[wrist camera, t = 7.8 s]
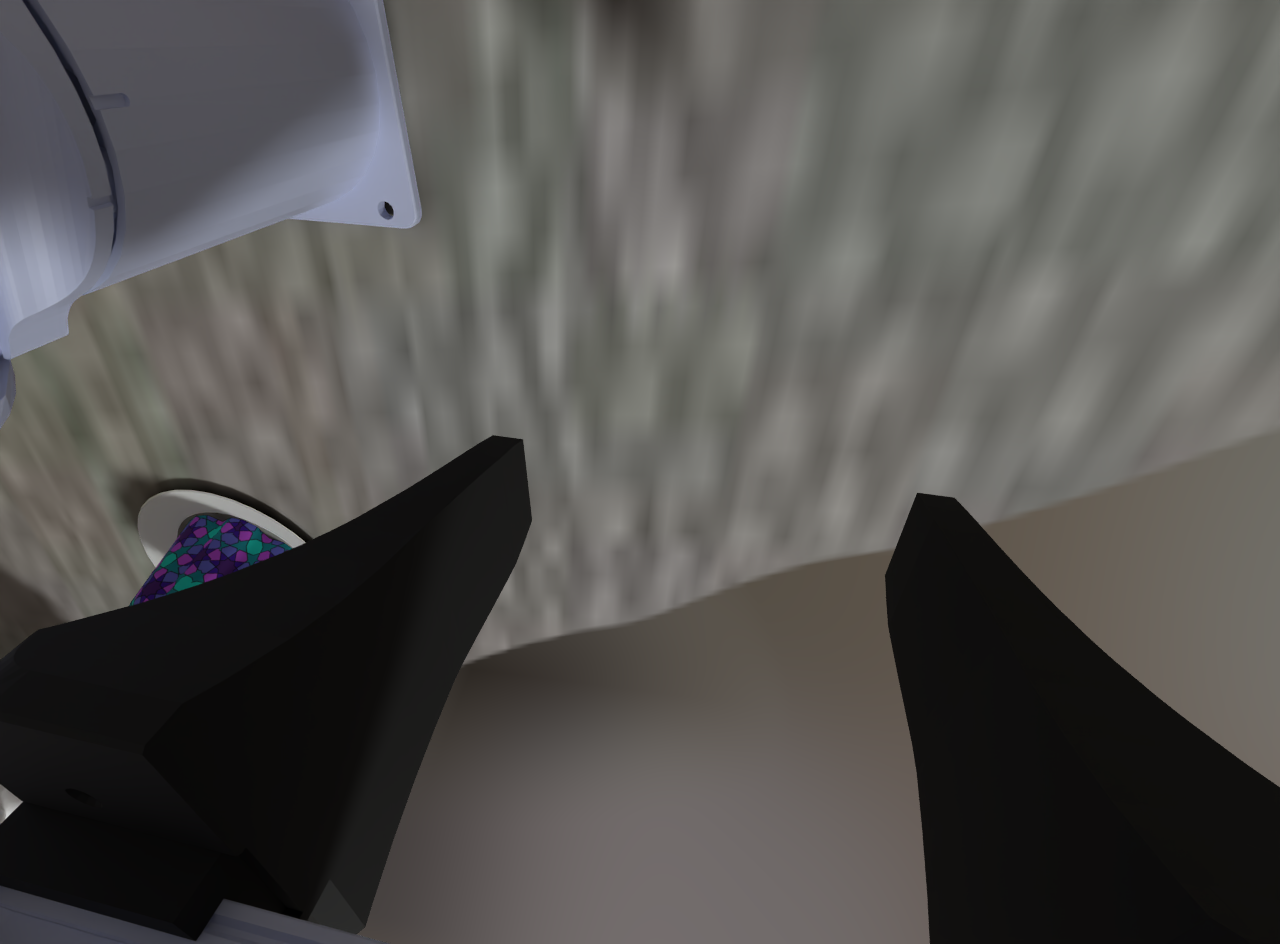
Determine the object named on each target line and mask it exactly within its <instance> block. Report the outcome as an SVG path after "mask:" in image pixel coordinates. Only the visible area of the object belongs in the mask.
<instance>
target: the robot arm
mask: <svg viewBox="0 0 1280 944" xmlns="http://www.w3.org/2000/svg"><path fill="white" fill-rule="evenodd" d="M385 202H388V203H389V204H390V205H391V206H392V208H393V210H394V216H391V215H390V214H389V213H388V212H387V211H386V209H385ZM421 217H422V209H421V204H420V198H419V193H418V188H417V182H416V177H415V171H414V166H413V160H412V155H411V150H410V144H409V139H408V133H407V128H406V122H405V117H404V111H403V106H402V101H401V95H400V90H399V84H398V79H397V73H396V68H395V62H394V57H393V52H392V46H391V41H390V35H389V30H388V24H387V19H386V13H385V8H384V3H383V0H0V429H1V427H2V426H3V424H4V423H5V421H6V419H7V418H8V416H9V415H10V412H11V409H12V406H13V402H14V399H15V395H16V384H15V374H14V370H13V367H12V364H11V360H10V359H12V358H14V357H17V356H19V355H22V354H24V353H26V352H29V351H31V350H33V349H36V348H38V347H40V346H43V345H45V344H48V343H50V342H52V341H55V340H57V339H59V338H62V337H64V336H66V335H68V334H69V329H68V313H69V310H70V307H71V305H72V304H73V302H74V301H76V300H77V299H78V298H79V297H80V296H82V295H85V294H88V293H91V292H94V291H96V290H99V289H102V288H104V287H107V286H110V285H112V284H115V283H118V282H120V281H123V280H126V279H128V278H131V277H134V276H136V275H139V274H142V273H144V272H147V271H150V270H152V269H155V268H158V267H160V266H163V265H166V264H168V263H171V262H174V261H176V260H179V259H181V258H184V257H187V256H189V255H192V254H195V253H197V252H200V251H203V250H205V249H208V248H211V247H213V246H216V245H219V244H221V243H224V242H227V241H229V240H232V239H235V238H237V237H240V236H243V235H245V234H248V233H251V232H253V231H256V230H259V229H261V228H264V227H267V226H269V225H272V224H275V223H277V222H280V221H283V220H285V219H299V220H311V221H322V222H334V223H346V224H358V225H370V226H381V227H393V228H411V227H413V226H415V225H416V224H418V223H419V222H420V220H421ZM531 522H532V516H531V507H530V498H529V489H528V480H527V471H526V462H525V453H524V445H523V439H516V438H509V437H501V436H494V435H493V436H491V437H489V438H487V439H486V440H484V441H482V442H481V443H479V444H477V445H476V446H474V447H473V448H471V449H469V450H468V451H466V452H465V453H463V454H462V455H460V456H458V457H457V458H455V459H454V460H452V461H451V462H449V463H448V464H446V465H444V466H443V467H441V468H440V469H438V470H437V471H435V472H433V473H432V474H430V475H429V476H427V477H425V478H424V479H422V480H421V481H419V482H417V483H416V484H414V485H413V486H411V487H410V488H408V489H406V490H404V491H403V492H401V493H399V494H397V495H396V496H394V497H392V498H390V499H389V500H387V501H385V502H383V503H382V504H380V505H378V506H376V507H375V508H373V509H371V510H369V511H368V512H366V513H364V514H362V515H361V516H359V517H357V518H355V519H353V520H351V521H349V522H348V523H346V524H344V525H342V526H340V527H338V528H336V529H334V530H332V531H330V532H327V533H325V534H323V535H321V536H319V537H317V538H315V539H312V540H310V541H308V542H306V543H304V544H302V545H300V546H297V547H295V548H293V549H290V550H288V551H286V552H283V553H281V554H278V555H276V556H273V557H270V558H268V559H265V560H263V561H260V562H258V563H255V564H253V565H250V566H248V567H245V568H243V569H240V570H238V571H235V572H233V573H230V574H227V575H225V576H222V577H219V578H216V579H213V580H210V581H207V582H205V583H202V584H199V585H196V586H193V587H190V588H187V589H184V590H181V591H177V592H174V593H171V594H168V595H165V596H162V597H158V598H155V599H152V600H149V601H145V602H142V603H138V604H135V605H132V606H128V607H124V608H121V609H117V610H113V611H109V612H106V613H102V614H98V615H94V616H90V617H87V618H83V619H79V620H75V621H72V622H68V623H64V624H60V625H56V626H52V627H48V628H44V629H40V630H38V631H36V632H35V633H33V634H32V635H31V636H29V637H28V638H27V639H26V640H24V641H23V642H22V643H21V644H19V645H18V646H17V647H16V648H15V649H13V650H12V651H11V652H10V653H8V654H7V655H6V656H5V657H4V658H2V659H1V660H0V784H1V785H2V786H3V787H5V788H6V789H7V790H8V791H10V792H11V793H12V794H13V795H15V796H16V797H17V798H19V799H20V800H21V801H23V802H22V803H21V804H20V805H19V806H18V807H17V808H16V809H15V810H14V811H13V812H12V813H11V814H10V815H9V816H8V817H7V818H6V819H5V820H4V821H3V822H2V823H0V944H389V943H386V942H382V941H378V940H375V939H371V938H367V937H363V936H360V935H356V934H357V933H359V932H360V931H361V930H362V929H363V928H365V926H366V923H367V919H368V916H369V913H370V910H371V907H372V903H373V900H374V897H375V894H376V891H377V888H378V885H379V882H380V879H381V876H382V873H383V870H384V867H385V864H386V861H387V858H388V855H389V852H390V849H391V845H392V842H393V839H394V836H395V834H396V831H397V828H398V825H399V823H400V820H401V817H402V814H403V811H404V808H405V806H406V803H407V800H408V797H409V794H410V792H411V789H412V786H413V783H414V780H415V778H416V775H417V772H418V770H419V767H420V765H421V762H422V760H423V757H424V754H425V752H426V749H427V747H428V744H429V742H430V739H431V736H432V734H433V731H434V729H435V726H436V724H437V721H438V719H439V717H440V714H441V712H442V709H443V707H444V704H445V702H446V700H447V697H448V694H449V692H450V690H451V688H452V685H453V683H454V680H455V678H456V676H457V674H458V672H459V670H460V668H461V666H462V664H463V662H464V660H465V658H466V656H467V654H468V652H469V650H470V649H471V647H472V645H473V643H474V641H475V639H476V637H477V636H478V634H479V632H480V630H481V628H482V626H483V625H484V623H485V621H486V619H487V617H488V615H489V613H490V612H491V610H492V608H493V606H494V604H495V602H496V601H497V599H498V597H499V595H500V593H501V591H502V589H503V587H504V586H505V584H506V582H507V580H508V578H509V576H510V574H511V572H512V570H513V568H514V567H515V565H516V562H517V560H518V557H519V554H520V552H521V549H522V547H523V544H524V541H525V539H526V536H527V533H528V530H529V527H530V525H531ZM885 582H886V602H887V615H888V627H889V633H890V638H891V643H892V648H893V653H894V658H895V663H896V668H897V673H898V678H899V683H900V688H901V692H902V697H903V702H904V706H905V712H906V716H907V722H908V726H909V731H910V736H911V741H912V746H913V752H914V758H915V765H916V771H917V780H918V790H919V800H920V811H921V821H922V830H923V845H924V856H925V871H926V883H927V897H928V915H929V934H930V944H1280V787H1278V786H1277V785H1276V784H1274V783H1273V782H1271V781H1270V780H1268V779H1267V778H1265V777H1264V776H1263V775H1261V774H1260V773H1258V772H1257V771H1255V770H1254V769H1253V768H1251V767H1250V766H1248V765H1247V764H1245V763H1244V762H1243V761H1241V760H1240V759H1239V758H1237V757H1236V756H1234V755H1233V754H1232V753H1231V752H1229V751H1228V750H1226V749H1225V748H1224V747H1222V746H1221V745H1220V744H1218V743H1217V742H1216V741H1214V740H1213V739H1212V738H1210V737H1209V736H1208V735H1206V734H1205V733H1204V732H1202V731H1201V730H1200V729H1198V728H1197V727H1195V726H1194V725H1193V724H1191V723H1190V722H1189V721H1187V720H1186V719H1185V718H1184V717H1182V716H1181V715H1180V714H1178V713H1177V712H1176V711H1175V710H1173V709H1172V708H1171V707H1170V706H1168V705H1167V704H1166V703H1164V702H1163V701H1162V700H1161V699H1159V698H1158V697H1157V696H1156V695H1155V694H1153V693H1152V692H1151V691H1150V690H1149V689H1147V688H1146V687H1145V686H1144V685H1143V684H1141V683H1140V682H1139V681H1138V680H1137V679H1135V678H1134V677H1133V676H1132V675H1131V674H1129V673H1128V672H1127V671H1126V670H1125V669H1124V668H1122V667H1121V666H1120V665H1119V664H1118V663H1116V662H1115V661H1114V660H1113V659H1112V658H1111V657H1109V656H1108V655H1107V654H1106V653H1105V652H1104V651H1103V650H1102V649H1101V648H1099V647H1098V646H1097V645H1096V644H1095V643H1094V642H1093V641H1091V639H1090V638H1088V637H1087V636H1086V635H1085V634H1084V633H1083V632H1082V631H1081V630H1080V629H1079V628H1078V627H1077V626H1076V625H1075V624H1074V623H1073V622H1072V621H1071V620H1070V619H1068V617H1067V616H1065V615H1064V614H1063V613H1062V612H1061V611H1060V610H1059V609H1058V608H1057V607H1056V606H1055V605H1054V604H1053V603H1052V602H1051V601H1050V600H1049V599H1048V598H1047V597H1046V596H1045V595H1044V594H1043V593H1042V592H1041V591H1040V590H1039V589H1038V588H1037V587H1036V585H1035V584H1033V582H1031V580H1030V579H1029V578H1028V577H1027V576H1026V575H1025V574H1024V573H1023V572H1022V571H1021V570H1020V569H1019V568H1018V567H1017V565H1016V564H1015V563H1014V562H1013V561H1012V560H1011V559H1010V558H1009V557H1008V556H1007V555H1006V553H1005V552H1004V551H1003V550H1002V549H1001V548H1000V547H999V546H998V545H997V544H996V543H995V541H994V540H993V539H992V538H991V537H990V536H989V535H988V534H987V532H986V531H985V530H984V529H983V528H982V527H981V526H980V525H979V524H978V522H977V521H976V520H975V519H974V518H973V517H972V516H971V515H970V514H969V513H968V511H967V510H966V509H965V508H964V507H963V506H962V505H961V504H960V503H959V502H958V501H957V500H956V499H955V498H952V497H945V496H937V495H930V494H923V493H917V495H916V497H915V500H914V502H913V505H912V508H911V510H910V513H909V515H908V518H907V520H906V523H905V525H904V528H903V531H902V533H901V536H900V538H899V541H898V543H897V546H896V549H895V551H894V554H893V556H892V559H891V561H890V564H889V567H888V569H887V572H886V574H885Z"/></svg>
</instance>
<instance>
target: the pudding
mask: <svg viewBox="0 0 1280 944" xmlns="http://www.w3.org/2000/svg"><path fill="white" fill-rule="evenodd" d="M204 512H210V513H222V514H227V515H232V516H235V517H238V518H242V519H245V520H247V521H249V522H252V523H254V524H257V525H259V526H261V527H262V528H264V529H266V530H268V531H270V532H272V533H273V534H275V535H276V536H278V537H279V538H281V539H282V540H284V541H285V542H287V543H288V544H289V545H290V546H292V547H293V548H295V547H297V546H300V545H302V544H304V543H306V542H305V541H303V540H302V539H301V538H300V537H299V536H297V535H296V534H295V533H294V532H292V531H291V530H289V529H288V528H286V527H285V526H283V525H282V524H280V523H279V522H277V521H275V520H274V519H272V518H270V517H268V516H267V515H265V514H263V513H261V512H259V511H257V510H255V509H254V508H251V507H249V506H247V505H244V504H242V503H239V502H237V501H235V500H232V499H229V498H226V497H222V496H219V495H215V494H212V493H207V492H201V491H195V490H172V491H166V492H161V493H159V494H157V495H155V496H153V497H151V498H149V499H148V500H147V501H146V502H145V503H144V504H143V506H142V507H141V510H140V512H139V515H138V532H139V536H140V540H141V542H142V545H143V547H144V549H145V551H146V553H147V555H148V556H149V558H150V560H151V561H152V563H153V564H154V566H155V567H156V568H155V570H154V571H153V572H152V574H151V575H150V576H149V578H148V579H147V581H146V582H145V583H144V585H143V586H142V588H141V589H140V590H139V592H138V593H137V594H136V596H135V597H134V599H133V600H132V601H131V603H130V605H129V606H132V605H135V604H138V603H142V602H145V601H149V600H152V599H155V598H158V597H162V596H165V595H168V594H171V593H174V592H177V591H181V590H184V589H187V588H190V587H193V586H196V585H199V584H202V583H205V582H207V581H210V580H213V579H216V578H219V577H222V576H225V575H227V574H230V573H233V572H235V571H238V570H240V569H243V568H245V567H248V566H250V565H253V564H255V563H258V562H260V561H263V560H265V559H268V558H270V557H273V556H276V555H278V554H281V553H283V552H286V551H288V550H290V549H292V548H291V547H289V546H288V545H286V544H285V543H284V542H280V541H276V540H273V539H269V538H268V537H267V536H266V535H265V534H264V533H263V532H262V531H261V530H260V529H259V528H258V527H256V526H254V525H252V524H250V523H248V522H246V521H244V520H240V519H235V518H229V519H227V520H225V521H223V522H222V521H219V520H217V519H215V518H212V517H210V516H208V515H201V516H196V517H194V518H193V519H191V520H190V522H189V523H188V524H187V526H186V527H185V528H184V530H183V531H182V532H181V534H180V535H179V536H178V538H177V535H178V529H179V527H180V525H181V523H182V522H183V521H184V520H185V519H186V518H187V517H189V516H192V515H194V514H198V513H204Z"/></svg>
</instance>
